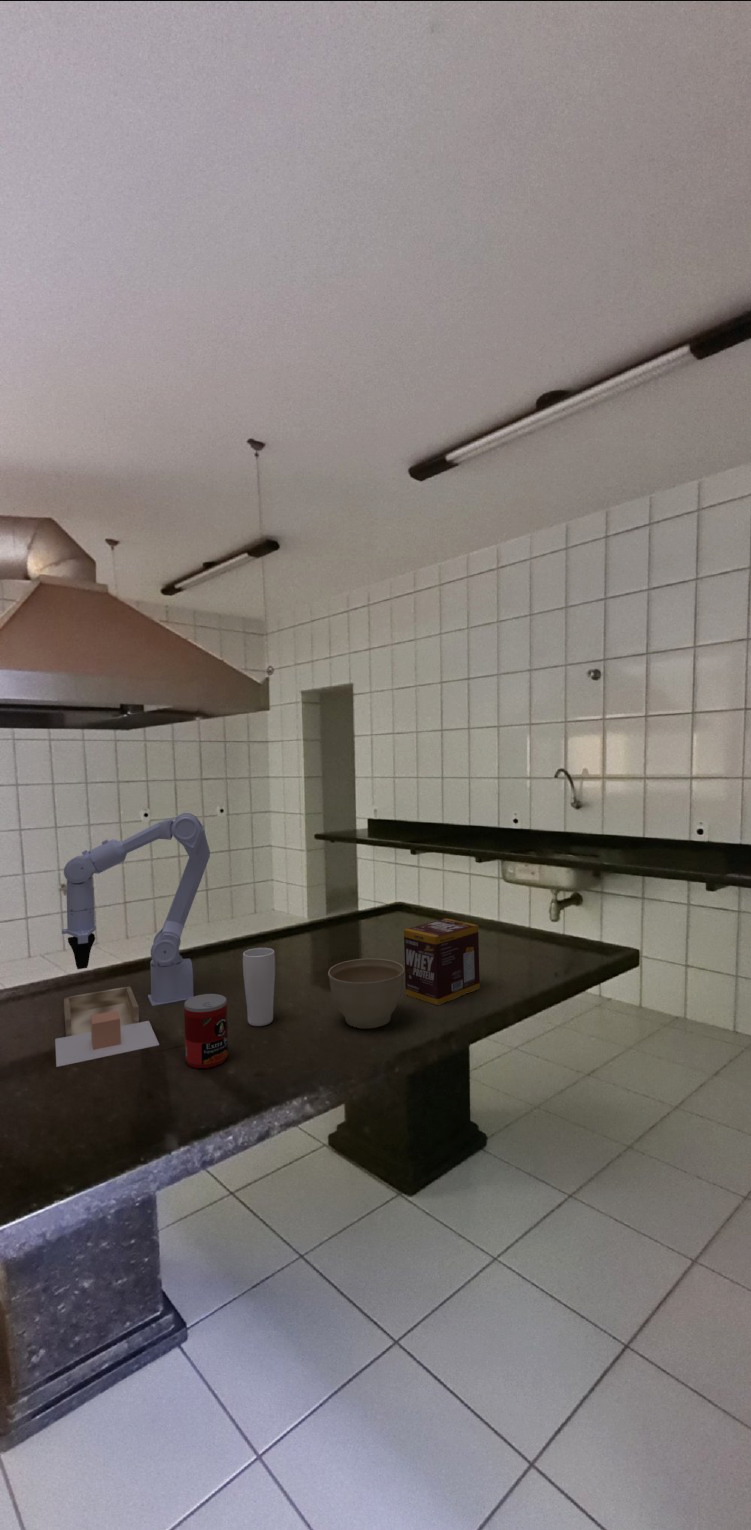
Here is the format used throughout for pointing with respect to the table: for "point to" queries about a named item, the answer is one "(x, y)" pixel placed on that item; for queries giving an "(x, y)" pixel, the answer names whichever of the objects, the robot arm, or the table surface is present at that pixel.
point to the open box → (99, 1008)
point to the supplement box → (441, 960)
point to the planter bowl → (366, 990)
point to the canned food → (206, 1030)
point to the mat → (82, 1049)
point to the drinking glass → (259, 984)
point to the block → (105, 1030)
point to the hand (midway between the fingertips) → (82, 968)
